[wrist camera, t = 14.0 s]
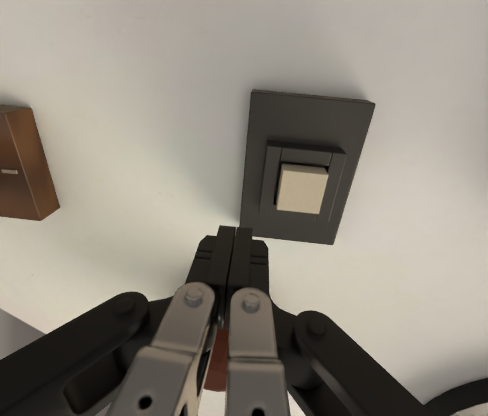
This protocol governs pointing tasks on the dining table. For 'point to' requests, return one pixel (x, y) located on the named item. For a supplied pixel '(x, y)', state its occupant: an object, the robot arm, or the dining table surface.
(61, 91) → the dining table surface
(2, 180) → the panel
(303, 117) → the tiered pedestal stack
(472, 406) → the disc
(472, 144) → the dining table surface
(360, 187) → the dining table surface
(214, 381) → the muffin
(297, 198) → the key
